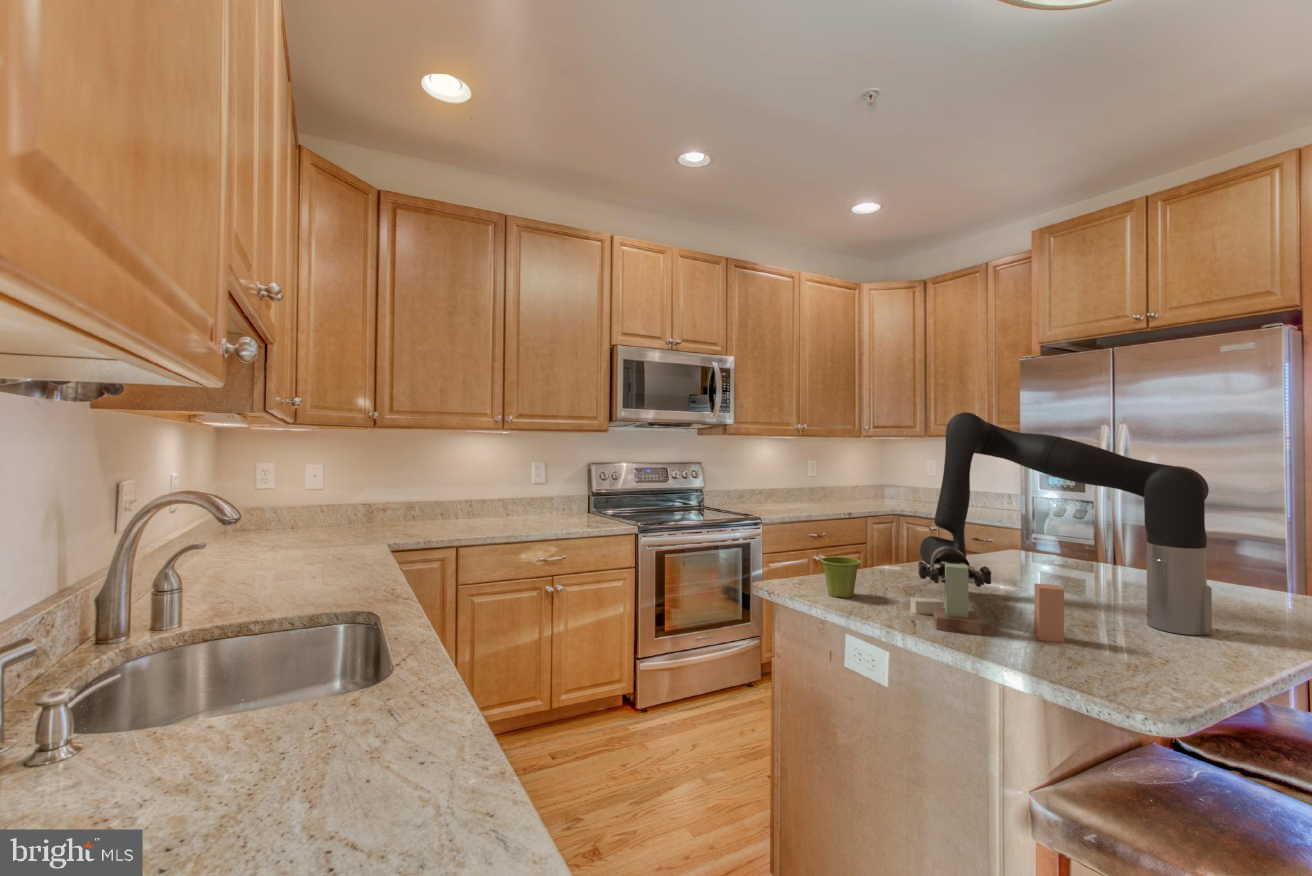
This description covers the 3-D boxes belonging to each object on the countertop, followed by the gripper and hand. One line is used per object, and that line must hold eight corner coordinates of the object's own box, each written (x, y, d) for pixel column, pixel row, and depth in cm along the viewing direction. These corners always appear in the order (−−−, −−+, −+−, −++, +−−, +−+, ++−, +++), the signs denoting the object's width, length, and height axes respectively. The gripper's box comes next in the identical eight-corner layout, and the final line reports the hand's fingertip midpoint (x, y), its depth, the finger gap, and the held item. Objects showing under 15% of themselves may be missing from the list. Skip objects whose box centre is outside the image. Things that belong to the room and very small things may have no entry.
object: (838, 601, 140) (839, 565, 140) (812, 592, 148) (812, 558, 148) (868, 597, 144) (869, 562, 144) (841, 589, 152) (841, 555, 152)
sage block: (966, 612, 123) (966, 564, 123) (968, 618, 119) (968, 568, 119) (945, 610, 124) (944, 563, 124) (946, 615, 120) (946, 566, 121)
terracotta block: (1058, 636, 116) (1058, 585, 116) (1063, 642, 112) (1063, 589, 112) (1034, 633, 117) (1034, 583, 117) (1039, 639, 114) (1039, 587, 114)
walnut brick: (975, 625, 124) (975, 611, 124) (981, 637, 116) (981, 622, 116) (933, 621, 127) (933, 607, 127) (936, 632, 119) (936, 617, 119)
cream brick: (937, 611, 133) (937, 598, 133) (943, 615, 130) (943, 601, 130) (910, 610, 133) (910, 597, 133) (915, 614, 130) (915, 601, 130)
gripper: (915, 545, 138) (919, 558, 122) (985, 550, 132) (998, 564, 117) (915, 578, 137) (918, 595, 122) (985, 584, 132) (998, 602, 117)
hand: (957, 579), depth 120 cm, fingers open, 7 cm apart
